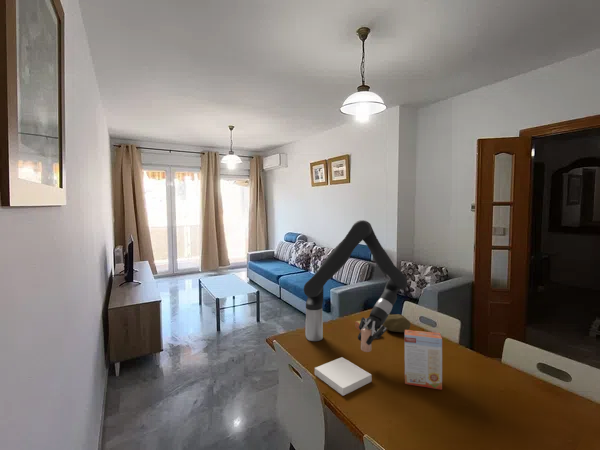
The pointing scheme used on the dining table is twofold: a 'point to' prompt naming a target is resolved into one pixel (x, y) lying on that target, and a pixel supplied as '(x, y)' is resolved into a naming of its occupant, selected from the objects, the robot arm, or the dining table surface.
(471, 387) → the dining table surface
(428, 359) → the cracker box
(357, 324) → the carton
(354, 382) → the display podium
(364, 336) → the canister
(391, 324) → the decorative stone
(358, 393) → the dining table surface
